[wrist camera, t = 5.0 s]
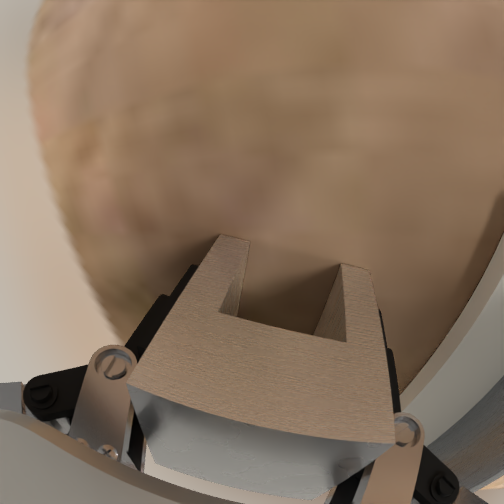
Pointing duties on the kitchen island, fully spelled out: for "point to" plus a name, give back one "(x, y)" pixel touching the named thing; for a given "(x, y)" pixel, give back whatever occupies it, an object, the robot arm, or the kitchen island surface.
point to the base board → (462, 358)
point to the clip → (265, 386)
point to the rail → (476, 442)
